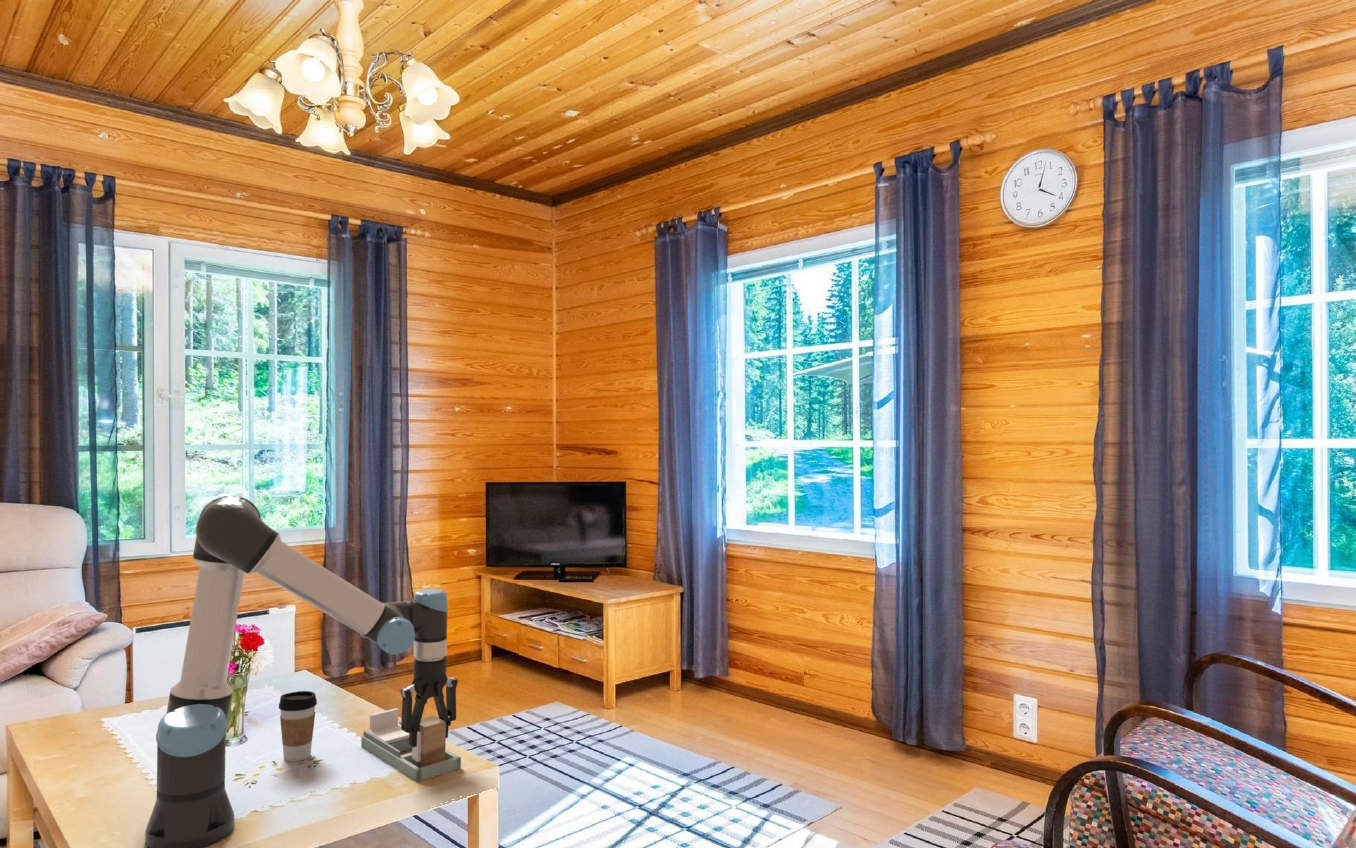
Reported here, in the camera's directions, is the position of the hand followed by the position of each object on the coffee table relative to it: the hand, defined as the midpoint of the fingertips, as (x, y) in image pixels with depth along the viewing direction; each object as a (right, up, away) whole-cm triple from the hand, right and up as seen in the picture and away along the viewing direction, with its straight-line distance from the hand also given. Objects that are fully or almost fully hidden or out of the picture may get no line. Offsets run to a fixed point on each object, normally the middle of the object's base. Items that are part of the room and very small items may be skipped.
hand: (428, 756), depth 201 cm
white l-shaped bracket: (-13, 0, +13) cm, 18 cm away
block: (0, -3, 0) cm, 3 cm away
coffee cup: (-33, -2, +5) cm, 34 cm away
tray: (-6, -3, +6) cm, 9 cm away
